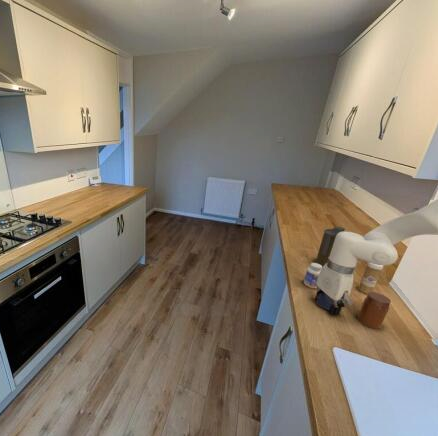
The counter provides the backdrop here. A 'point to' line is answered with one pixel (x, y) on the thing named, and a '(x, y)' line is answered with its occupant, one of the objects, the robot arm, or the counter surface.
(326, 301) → the lid
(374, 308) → the jar
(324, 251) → the canister
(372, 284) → the sprinkles bottle
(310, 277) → the pill bottle
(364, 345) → the counter surface
